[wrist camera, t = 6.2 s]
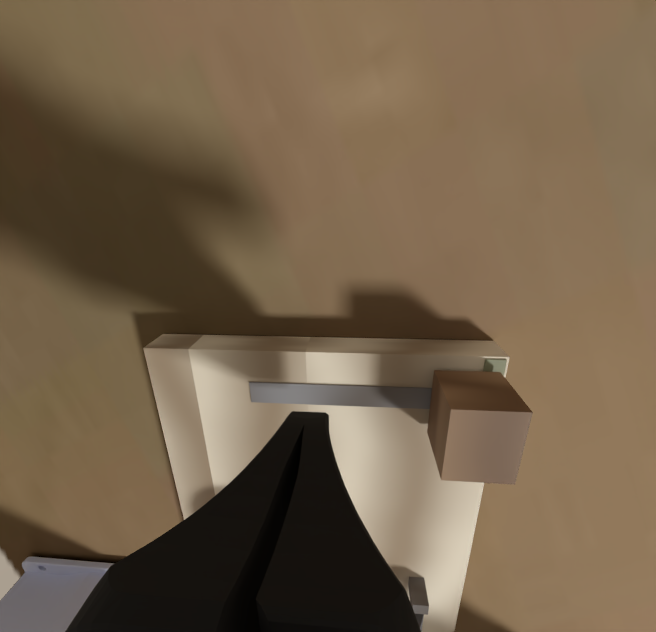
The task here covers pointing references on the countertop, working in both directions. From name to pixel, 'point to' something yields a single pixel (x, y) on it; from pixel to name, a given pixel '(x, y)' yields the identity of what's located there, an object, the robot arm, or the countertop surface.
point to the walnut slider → (477, 426)
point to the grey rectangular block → (420, 620)
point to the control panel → (332, 436)
